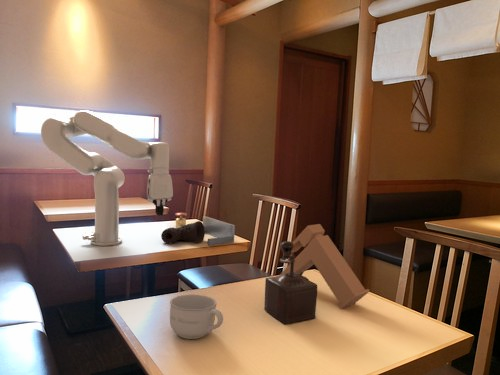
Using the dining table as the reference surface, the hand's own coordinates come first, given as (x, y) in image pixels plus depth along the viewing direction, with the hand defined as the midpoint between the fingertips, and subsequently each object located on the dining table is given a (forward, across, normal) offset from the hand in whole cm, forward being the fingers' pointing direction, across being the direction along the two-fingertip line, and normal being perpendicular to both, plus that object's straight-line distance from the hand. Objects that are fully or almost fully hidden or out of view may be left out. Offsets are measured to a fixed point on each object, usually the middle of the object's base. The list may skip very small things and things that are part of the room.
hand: (159, 214), depth 173 cm
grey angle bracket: (+13, +24, +1) cm, 28 cm away
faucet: (+15, +15, -76) cm, 79 cm away
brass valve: (+13, +22, +21) cm, 33 cm away
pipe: (+14, +12, +1) cm, 18 cm away
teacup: (+14, -31, -78) cm, 85 cm away
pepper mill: (+14, -3, -79) cm, 81 cm away
